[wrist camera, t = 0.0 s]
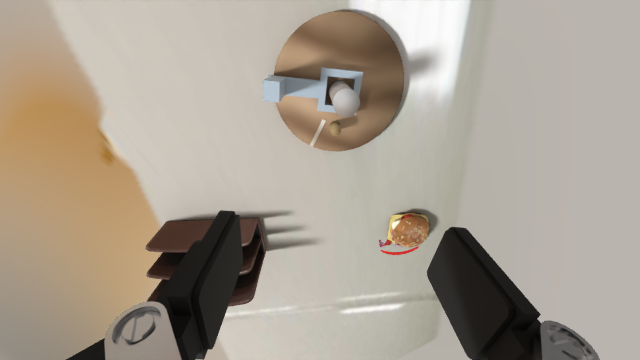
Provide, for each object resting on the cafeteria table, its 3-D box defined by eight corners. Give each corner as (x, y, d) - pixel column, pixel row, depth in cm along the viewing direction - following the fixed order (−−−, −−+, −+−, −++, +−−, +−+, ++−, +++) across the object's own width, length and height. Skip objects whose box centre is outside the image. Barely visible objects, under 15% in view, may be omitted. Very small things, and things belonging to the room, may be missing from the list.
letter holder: (266, 250, 53) (251, 309, 41) (181, 254, 54) (141, 314, 41) (259, 216, 49) (239, 271, 36) (166, 220, 49) (115, 276, 36)
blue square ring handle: (361, 71, 34) (372, 75, 27) (354, 112, 37) (362, 125, 30) (269, 61, 33) (258, 62, 27) (269, 104, 36) (259, 114, 30)
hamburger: (371, 205, 48) (378, 223, 43) (438, 204, 48) (453, 222, 43) (366, 254, 55) (371, 275, 49) (424, 253, 55) (436, 274, 49)
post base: (275, 3, 31) (253, -23, 21) (417, 22, 32) (467, 5, 22) (274, 143, 41) (259, 174, 30) (384, 153, 42) (407, 187, 31)
